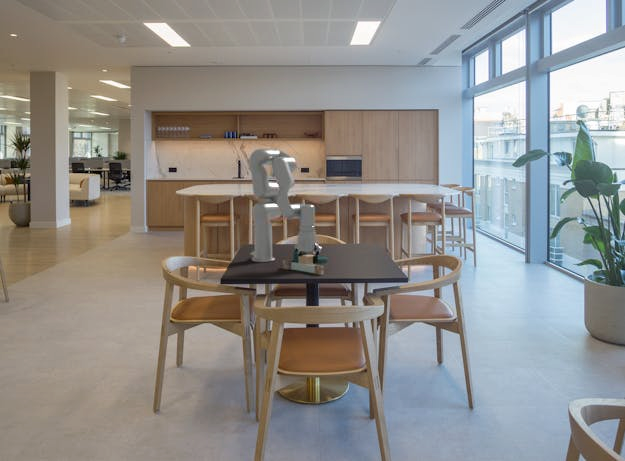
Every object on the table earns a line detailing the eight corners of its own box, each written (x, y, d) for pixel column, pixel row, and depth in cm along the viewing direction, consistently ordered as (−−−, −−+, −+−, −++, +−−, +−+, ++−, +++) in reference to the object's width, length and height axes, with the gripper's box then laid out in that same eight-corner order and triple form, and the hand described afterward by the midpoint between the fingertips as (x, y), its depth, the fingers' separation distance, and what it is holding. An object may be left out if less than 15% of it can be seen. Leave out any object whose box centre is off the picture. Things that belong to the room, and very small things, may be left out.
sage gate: (291, 269, 290) (291, 262, 289) (293, 268, 291) (293, 261, 291) (314, 273, 280) (314, 266, 280) (317, 272, 282) (317, 265, 281)
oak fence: (282, 268, 293) (282, 260, 292) (285, 268, 294) (285, 259, 294) (321, 275, 277) (321, 266, 276) (324, 274, 279) (324, 265, 278)
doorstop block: (298, 268, 295) (298, 256, 295) (308, 265, 302) (308, 254, 301) (305, 269, 292) (305, 257, 291) (315, 267, 298) (316, 255, 298)
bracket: (293, 262, 311) (293, 248, 310) (295, 260, 318) (295, 246, 317) (327, 263, 309) (327, 248, 308) (328, 261, 315) (328, 247, 314)
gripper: (289, 228, 297) (290, 261, 299) (316, 230, 286) (316, 265, 288) (299, 227, 303) (299, 260, 305) (325, 229, 292) (325, 263, 294)
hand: (307, 262), depth 296 cm, fingers open, 9 cm apart
